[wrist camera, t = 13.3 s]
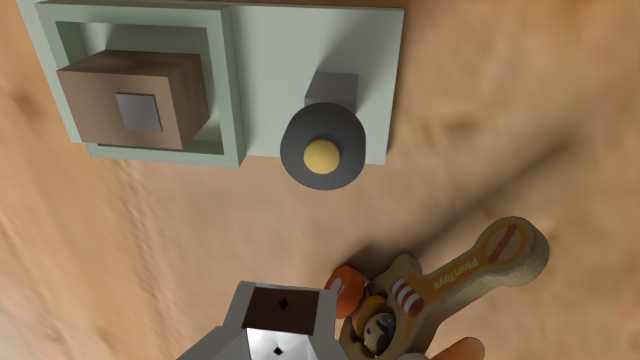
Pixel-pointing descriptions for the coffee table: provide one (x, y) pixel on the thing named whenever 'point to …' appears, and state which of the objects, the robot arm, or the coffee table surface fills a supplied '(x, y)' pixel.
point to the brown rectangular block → (136, 98)
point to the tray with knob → (235, 65)
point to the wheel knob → (324, 146)
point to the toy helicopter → (432, 294)
